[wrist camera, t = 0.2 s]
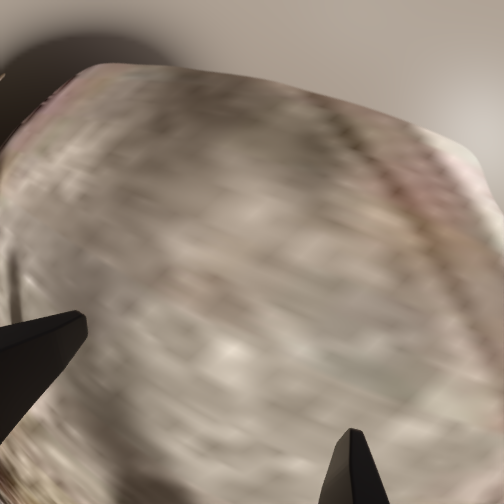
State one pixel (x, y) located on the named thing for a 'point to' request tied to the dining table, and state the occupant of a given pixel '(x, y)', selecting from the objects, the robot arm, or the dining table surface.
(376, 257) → the dining table surface
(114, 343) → the dining table surface
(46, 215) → the dining table surface
